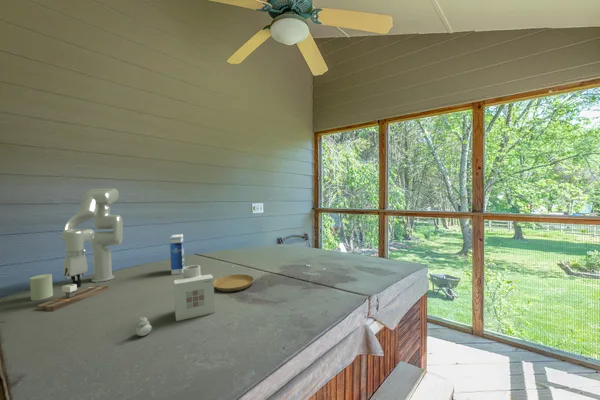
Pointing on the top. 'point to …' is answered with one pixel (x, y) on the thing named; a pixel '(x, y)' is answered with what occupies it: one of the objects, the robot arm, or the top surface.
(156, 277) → the top surface
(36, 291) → the can
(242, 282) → the plant saucer
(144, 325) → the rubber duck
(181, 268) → the string lights box
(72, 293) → the fader knob
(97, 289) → the fader console
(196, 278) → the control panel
